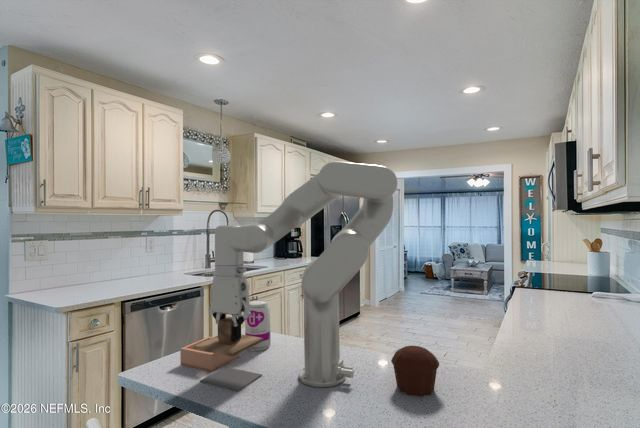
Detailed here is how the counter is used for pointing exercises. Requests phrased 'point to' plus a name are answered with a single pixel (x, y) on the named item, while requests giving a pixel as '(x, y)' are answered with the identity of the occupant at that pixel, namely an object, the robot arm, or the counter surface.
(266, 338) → the supplement can
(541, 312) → the counter surface
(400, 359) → the muffin
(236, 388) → the mat
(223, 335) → the lid
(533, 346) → the counter surface
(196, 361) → the dish
